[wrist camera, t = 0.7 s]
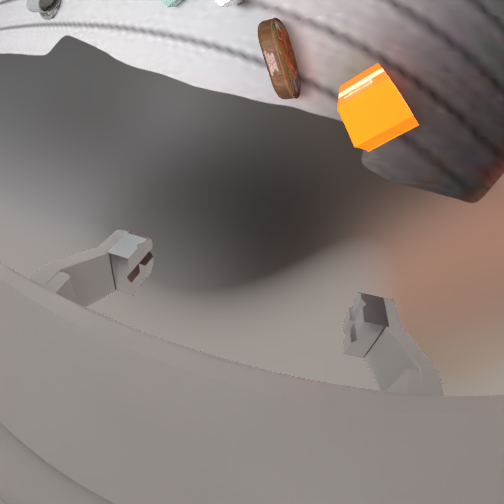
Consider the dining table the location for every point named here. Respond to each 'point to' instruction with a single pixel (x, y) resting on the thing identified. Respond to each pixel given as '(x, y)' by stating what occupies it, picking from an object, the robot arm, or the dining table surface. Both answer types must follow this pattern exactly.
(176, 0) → the rail
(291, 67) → the tin
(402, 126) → the orange juice
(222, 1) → the white block
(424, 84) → the dining table surface
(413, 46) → the dining table surface
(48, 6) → the ceramic mug
